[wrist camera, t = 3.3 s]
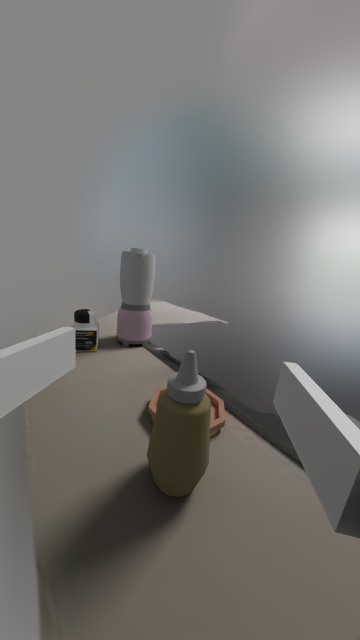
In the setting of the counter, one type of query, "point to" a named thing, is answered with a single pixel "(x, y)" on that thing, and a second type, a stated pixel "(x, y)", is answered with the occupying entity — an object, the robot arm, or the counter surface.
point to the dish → (216, 410)
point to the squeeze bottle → (181, 431)
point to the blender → (136, 297)
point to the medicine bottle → (86, 330)
